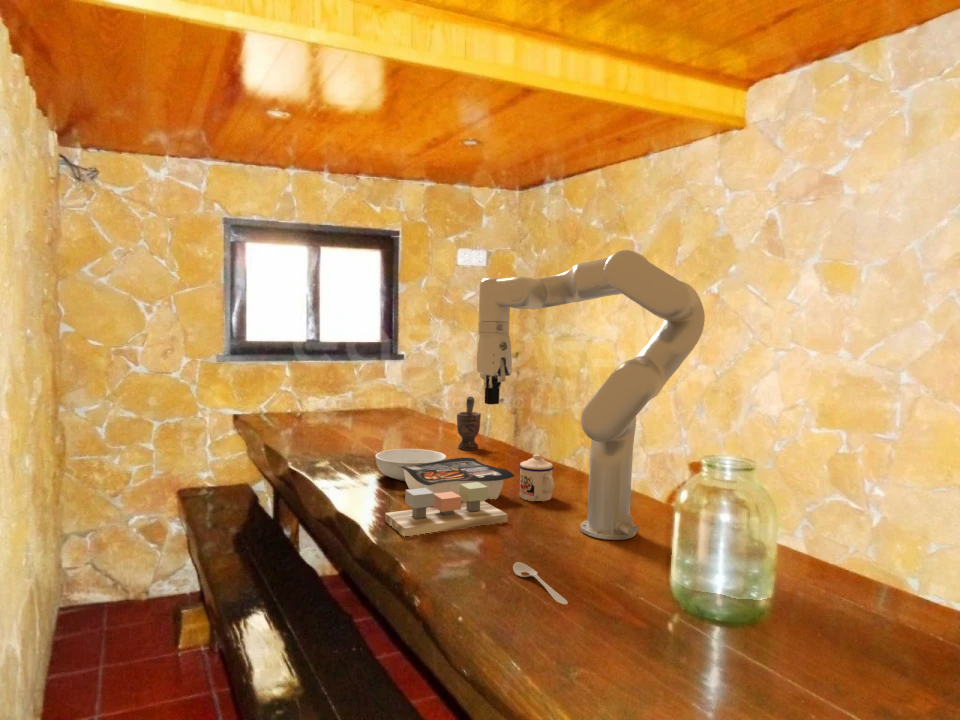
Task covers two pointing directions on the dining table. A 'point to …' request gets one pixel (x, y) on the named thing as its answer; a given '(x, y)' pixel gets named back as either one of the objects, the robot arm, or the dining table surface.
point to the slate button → (419, 501)
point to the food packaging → (455, 476)
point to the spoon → (522, 567)
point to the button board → (444, 519)
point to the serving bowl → (404, 460)
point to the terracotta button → (447, 502)
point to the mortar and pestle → (468, 426)
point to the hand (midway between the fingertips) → (491, 403)
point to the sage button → (473, 494)
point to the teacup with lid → (536, 479)
